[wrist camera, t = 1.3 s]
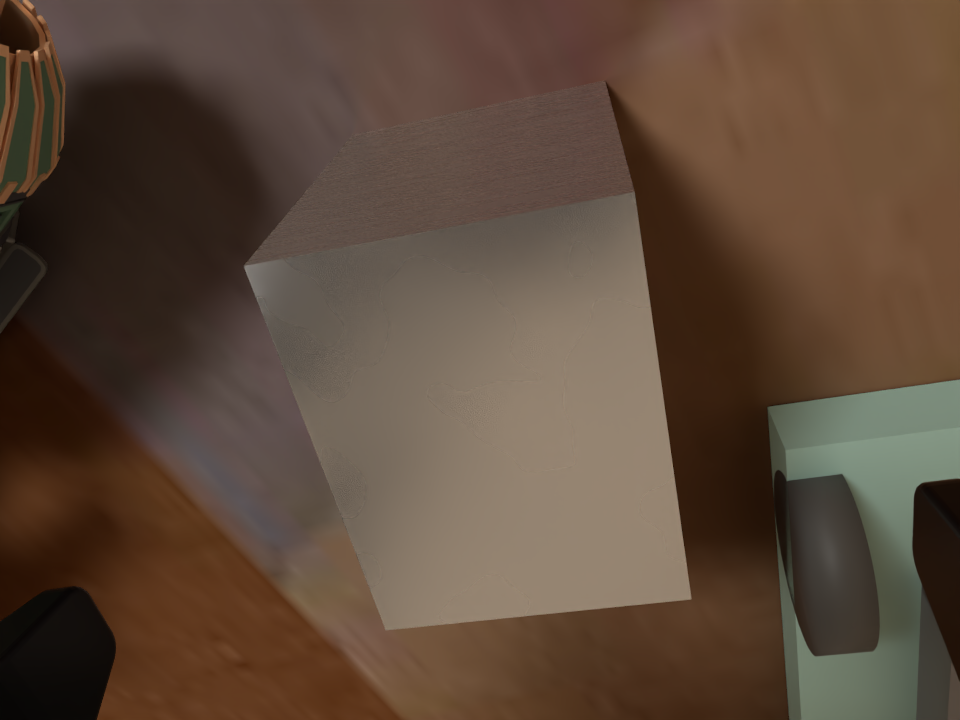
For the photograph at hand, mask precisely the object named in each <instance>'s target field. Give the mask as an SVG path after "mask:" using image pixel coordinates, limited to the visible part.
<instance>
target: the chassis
mask: <svg viewBox="0 0 960 720" xmlns="http://www.w3.org/2000/svg"><path fill="white" fill-rule="evenodd" d="M767 409H768V423H769V438H770V452H771V466H772V481H773V495H774V509H775V524H776V538H777V553H778V567H779V581H780V596H781V610H782V624H783V639H784V653H785V667H786V682H787V696H788V710H789V720H960V682H959V679H958V677H957V674H956V672H955V669H954V666H953V664H952V661H951V659H950V656H949V653H948V651H947V648H946V646H945V643H944V641H943V638H942V635H941V633H940V630H939V628H938V625H937V622H936V620H935V617H934V615H933V612H932V609H931V607H930V604H929V602H928V599H927V596H926V594H925V591H924V589H923V586H922V584H921V581H920V578H919V576H918V573H917V570H916V567H915V563H914V558H913V551H912V537H913V506H914V493H915V490H916V487H917V486H919V485H920V484H921V483H924V482H930V481H939V480H947V479H955V478H959V479H960V380H954V381H947V382H940V383H933V384H926V385H919V386H912V387H904V388H897V389H890V390H883V391H876V392H869V393H862V394H855V395H848V396H841V397H834V398H826V399H819V400H812V401H805V402H798V403H791V404H784V405H777V406H770V407H767Z"/></svg>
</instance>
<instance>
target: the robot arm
mask: <svg viewBox="0 0 960 720" xmlns="http://www.w3.org/2000/svg"><path fill="white" fill-rule="evenodd" d="M912 551H913V558H914V563H915V567H916V570H917V573H918V576H919V578H920V581H921V584H922V586H923V589H924V591H925V594H926V596H927V599H928V602H929V604H930V607H931V609H932V612H933V615H934V617H935V620H936V622H937V625H938V628H939V630H940V633H941V635H942V638H943V641H944V643H945V646H946V648H947V651H948V653H949V656H950V659H951V661H952V664H953V666H954V669H955V672H956V674H957V677H958V679H959V682H960V479H959V478H955V479H947V480H939V481H930V482H924V483H921V484H920V485H919V486H917V487H916V490H915V493H914V506H913V537H912ZM115 653H116V642H115V638H114V635H113V633H112V631H111V629H110V627H109V626H108V624H107V623H106V621H105V619H104V618H103V616H102V614H101V613H100V611H99V609H98V608H97V606H96V604H95V603H94V601H93V600H92V598H91V596H90V595H89V593H88V592H87V591H86V590H84V589H83V588H81V587H76V586H72V587H64V588H56V589H50V590H46V591H44V592H42V593H40V594H38V595H37V596H36V597H34V598H33V599H31V600H30V601H29V602H27V603H26V604H24V605H23V606H22V607H20V608H19V609H17V610H16V611H15V612H13V613H12V614H10V615H9V616H8V617H6V618H5V619H3V620H2V621H1V622H0V720H97V717H98V714H99V710H100V707H101V703H102V700H103V696H104V693H105V690H106V686H107V683H108V679H109V676H110V672H111V669H112V666H113V662H114V659H115Z"/></svg>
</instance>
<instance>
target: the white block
mask: <svg viewBox="0 0 960 720" xmlns="http://www.w3.org/2000/svg"><path fill="white" fill-rule="evenodd" d="M244 269H245V271H246V274H247V276H248V279H249V281H250V284H251V286H252V289H253V292H254V294H255V297H256V299H257V302H258V304H259V307H260V309H261V312H262V315H263V317H264V320H265V322H266V325H267V327H268V330H269V332H270V335H271V338H272V340H273V343H274V345H275V348H276V350H277V353H278V355H279V358H280V361H281V363H282V366H283V368H284V371H285V373H286V376H287V379H288V381H289V384H290V386H291V389H292V391H293V394H294V396H295V399H296V402H297V404H298V407H299V409H300V412H301V414H302V417H303V419H304V422H305V425H306V427H307V430H308V432H309V435H310V437H311V440H312V442H313V445H314V448H315V450H316V453H317V455H318V458H319V460H320V463H321V465H322V468H323V471H324V473H325V476H326V478H327V481H328V483H329V486H330V489H331V491H332V494H333V496H334V499H335V501H336V504H337V506H338V509H339V512H340V514H341V517H342V519H343V522H344V524H345V527H346V529H347V532H348V535H349V537H350V540H351V542H352V545H353V547H354V550H355V552H356V555H357V558H358V560H359V563H360V565H361V568H362V570H363V573H364V575H365V578H366V581H367V583H368V586H369V588H370V591H371V593H372V596H373V599H374V601H375V604H376V606H377V609H378V611H379V614H380V616H381V619H382V622H383V624H384V627H385V629H386V630H393V629H403V628H413V627H423V626H433V625H443V624H453V623H463V622H472V621H482V620H492V619H502V618H512V617H522V616H532V615H542V614H552V613H562V612H571V611H581V610H591V609H601V608H611V607H621V606H631V605H641V604H651V603H661V602H671V601H680V600H690V599H691V592H690V585H689V578H688V571H687V563H686V556H685V549H684V542H683V535H682V528H681V520H680V513H679V506H678V499H677V492H676V485H675V477H674V470H673V463H672V456H671V449H670V442H669V434H668V427H667V420H666V413H665V406H664V399H663V391H662V384H661V377H660V370H659V363H658V356H657V348H656V341H655V334H654V327H653V320H652V313H651V305H650V298H649V291H648V284H647V277H646V270H645V262H644V255H643V248H642V241H641V234H640V227H639V219H638V212H637V205H636V198H635V191H634V188H633V184H632V180H631V176H630V173H629V169H628V165H627V161H626V157H625V154H624V150H623V146H622V142H621V139H620V135H619V131H618V127H617V124H616V120H615V116H614V112H613V109H612V105H611V101H610V97H609V94H608V90H607V86H606V82H605V81H601V82H596V83H591V84H587V85H582V86H577V87H573V88H568V89H563V90H559V91H554V92H549V93H545V94H540V95H536V96H531V97H526V98H522V99H517V100H512V101H508V102H503V103H498V104H494V105H489V106H484V107H480V108H475V109H470V110H466V111H461V112H457V113H452V114H447V115H443V116H438V117H433V118H429V119H424V120H419V121H415V122H410V123H405V124H401V125H396V126H391V127H387V128H382V129H378V130H373V131H368V132H364V133H359V134H354V135H352V137H351V138H350V139H349V140H348V141H347V143H346V144H345V145H344V146H343V147H342V149H341V150H340V151H339V152H338V153H337V155H336V156H335V157H334V158H333V159H332V161H331V162H330V163H329V164H328V165H327V167H326V168H325V169H324V170H323V171H322V173H321V174H320V175H319V176H318V177H317V179H316V180H315V181H314V182H313V183H312V185H311V186H310V187H309V188H308V189H307V191H306V192H305V193H304V194H303V195H302V197H301V198H300V199H299V200H298V201H297V203H296V204H295V205H294V206H293V207H292V209H291V210H290V211H289V212H288V213H287V215H286V216H285V217H284V218H283V219H282V221H281V222H280V223H279V224H278V225H277V227H276V228H275V229H274V230H273V231H272V233H271V234H270V235H269V236H268V237H267V239H266V240H265V241H264V242H263V243H262V245H261V246H260V247H259V248H258V249H257V251H256V252H255V253H254V254H253V255H252V257H251V258H250V259H249V260H248V261H247V262H246V264H245V265H244Z"/></svg>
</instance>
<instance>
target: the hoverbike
mask: <svg viewBox="0 0 960 720" xmlns="http://www.w3.org/2000/svg"><path fill="white" fill-rule="evenodd" d="M64 114H65V81H64V77H63V74H62V71H61V67H60V63H59V60H58V57H57V54H56V50H55V47H54V44H53V41H52V37H51V34H50V31H49V29H48V26H47V23H46V22H45V20H44V19H43V17H42V16H41V15H39V16H37V13H36V10H35V7H34V6H33V5H32V4H31V3H30V2H29V1H28V0H24V1H23V4H21V3H20V2H19V1H18V0H0V251H1V249H2V247H1V246H2V245H3V249H2V251H1V252H0V334H1V332H2V331H3V330H4V328H5V327H6V326H7V324H8V323H9V322H10V320H11V319H12V318H13V316H14V315H15V314H16V312H17V311H18V310H19V308H20V307H21V306H22V304H23V303H24V302H25V301H26V299H27V298H28V297H29V295H30V294H31V293H32V291H33V290H34V289H35V287H36V286H37V285H38V283H39V282H40V281H41V279H42V278H43V277H44V275H45V274H46V273H47V269H48V264H47V263H46V262H45V261H44V259H43V258H42V257H41V256H40V255H38V254H37V253H36V252H34V251H33V250H32V249H31V248H29V247H28V246H27V245H25V244H22V243H19V242H18V243H16V244H14V243H15V236H16V231H17V226H18V220H19V211H18V208H19V207H20V206H21V204H22V203H23V201H24V200H25V199H26V198H27V197H28V196H30V195H32V194H33V193H34V192H35V190H36V189H37V187H38V186H39V185H40V183H41V182H42V181H44V180H46V179H47V178H48V177H49V175H50V174H51V173H52V171H53V170H54V168H55V167H56V165H57V163H58V161H59V159H60V156H58V155H59V152H60V151H61V150H62V147H63V145H64Z"/></svg>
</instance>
